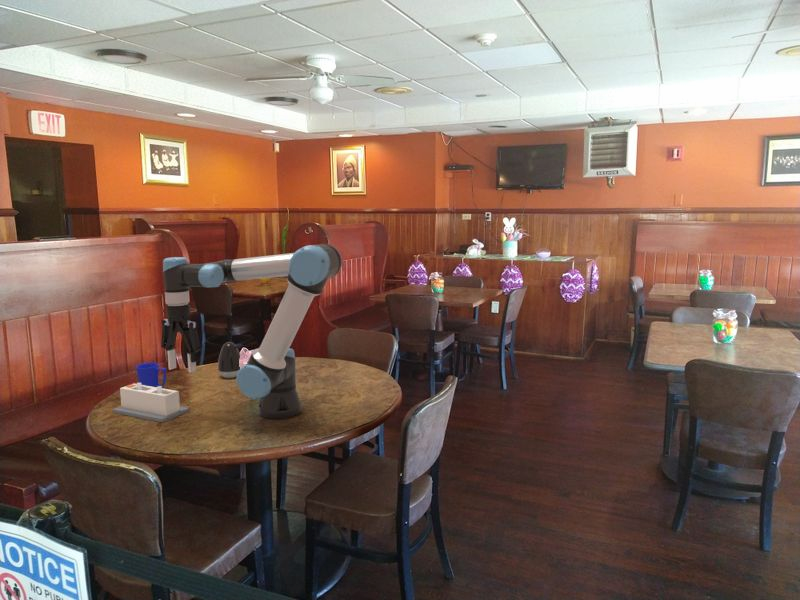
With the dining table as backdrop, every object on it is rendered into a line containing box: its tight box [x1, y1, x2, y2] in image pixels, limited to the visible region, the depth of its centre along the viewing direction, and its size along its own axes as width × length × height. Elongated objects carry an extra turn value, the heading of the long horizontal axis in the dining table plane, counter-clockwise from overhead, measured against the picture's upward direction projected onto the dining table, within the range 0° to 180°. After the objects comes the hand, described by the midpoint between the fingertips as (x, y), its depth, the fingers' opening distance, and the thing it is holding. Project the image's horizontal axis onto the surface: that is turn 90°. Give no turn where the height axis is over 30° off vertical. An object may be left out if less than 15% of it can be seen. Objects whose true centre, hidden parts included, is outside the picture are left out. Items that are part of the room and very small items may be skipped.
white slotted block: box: [119, 383, 181, 416], centre depth 203 cm, size 22×6×7 cm, turn 65°
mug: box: [135, 362, 167, 387], centre depth 228 cm, size 8×12×10 cm
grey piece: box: [112, 382, 190, 423], centre depth 202 cm, size 24×12×10 cm, turn 65°
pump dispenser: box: [217, 341, 242, 379], centre depth 245 cm, size 10×10×15 cm
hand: (182, 369), depth 194 cm, fingers open, 8 cm apart
